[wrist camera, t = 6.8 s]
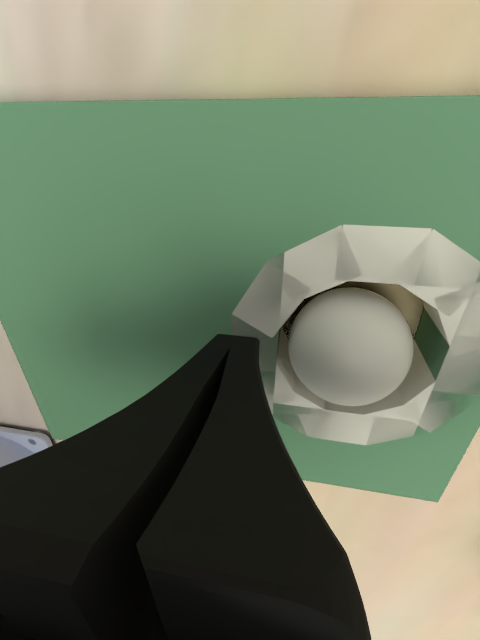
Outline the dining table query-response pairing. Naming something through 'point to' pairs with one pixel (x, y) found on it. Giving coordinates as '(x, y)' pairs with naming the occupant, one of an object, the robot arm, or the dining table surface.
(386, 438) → the putting mat
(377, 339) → the ball
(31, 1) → the dining table surface
